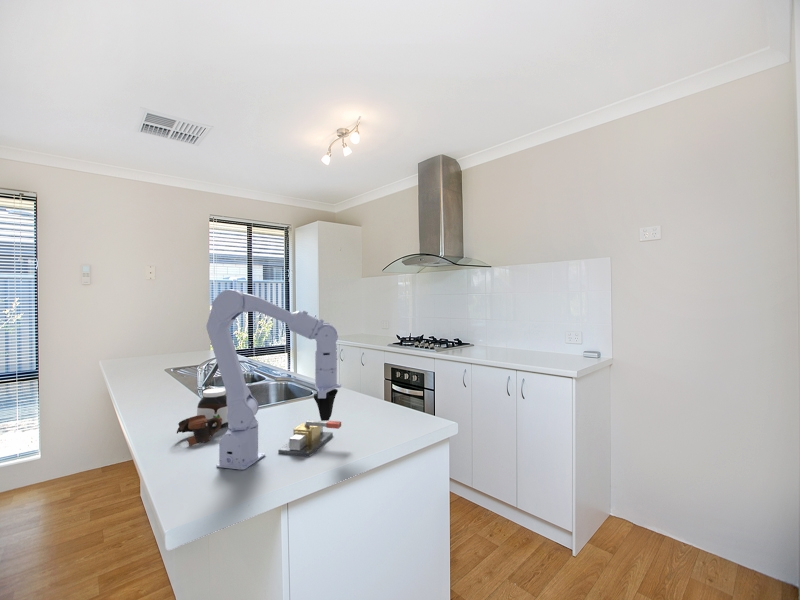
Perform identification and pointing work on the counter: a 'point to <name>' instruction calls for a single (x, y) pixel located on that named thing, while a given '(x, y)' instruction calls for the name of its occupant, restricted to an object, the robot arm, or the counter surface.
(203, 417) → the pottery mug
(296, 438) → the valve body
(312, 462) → the counter surface
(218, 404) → the spread jar
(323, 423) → the valve lever
